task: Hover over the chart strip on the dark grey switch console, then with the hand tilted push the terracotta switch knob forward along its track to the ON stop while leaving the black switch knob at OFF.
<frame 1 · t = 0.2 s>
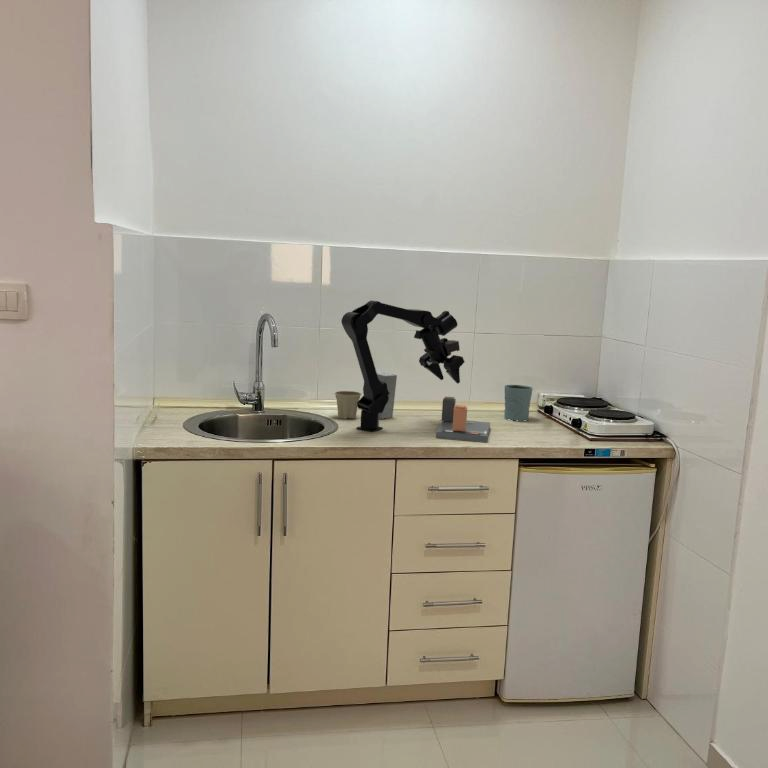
hand: (450, 381, 264), 15 cm above the worktop, tool tilted 30°, fingers open, 9 cm apart
blue-grey tapered cup: (515, 419, 280), on the worktop
switch knob A: (460, 417, 245), point 6 cm above the worktop, slide at 0.0 cm
flower pot: (346, 417, 268), on the worktop
console: (463, 432, 252), on the worktop
switch knob B: (448, 408, 259), point 6 cm above the worktop, slide at 0.0 cm
grey vase: (379, 417, 272), on the worktop
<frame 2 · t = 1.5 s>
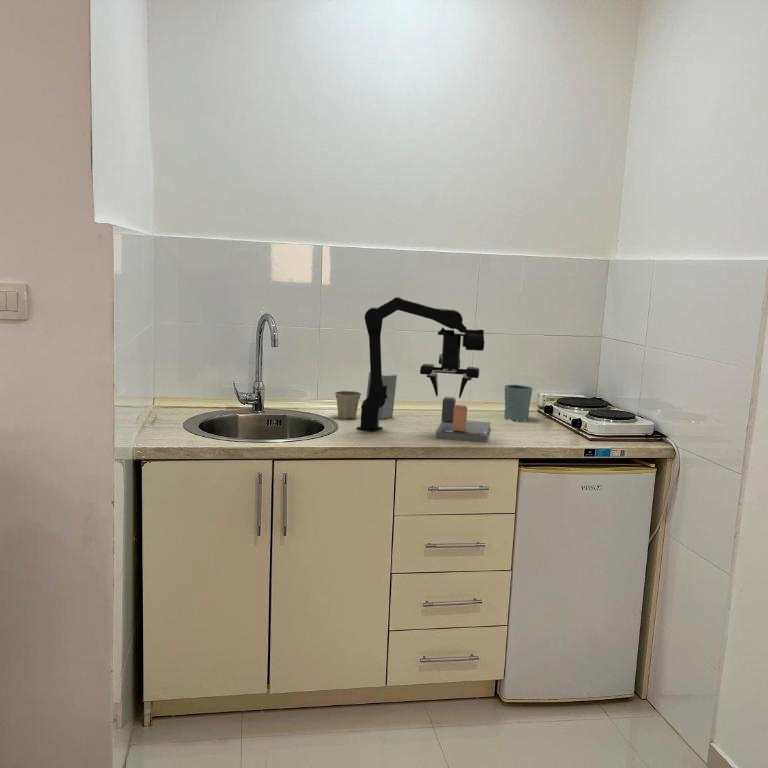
hand: (448, 397, 248), 12 cm above the worktop, tool pointing down, fingers open, 7 cm apart
nothing on the worktop moved.
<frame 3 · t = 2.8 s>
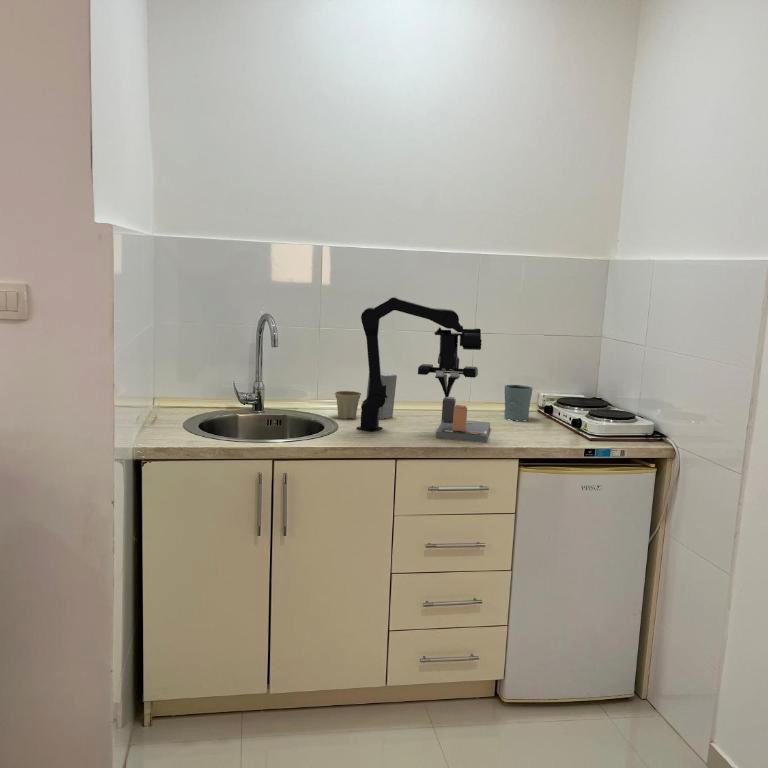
hand: (447, 397, 248), 12 cm above the worktop, tool pointing down, fingers closed
nothing on the worktop moved.
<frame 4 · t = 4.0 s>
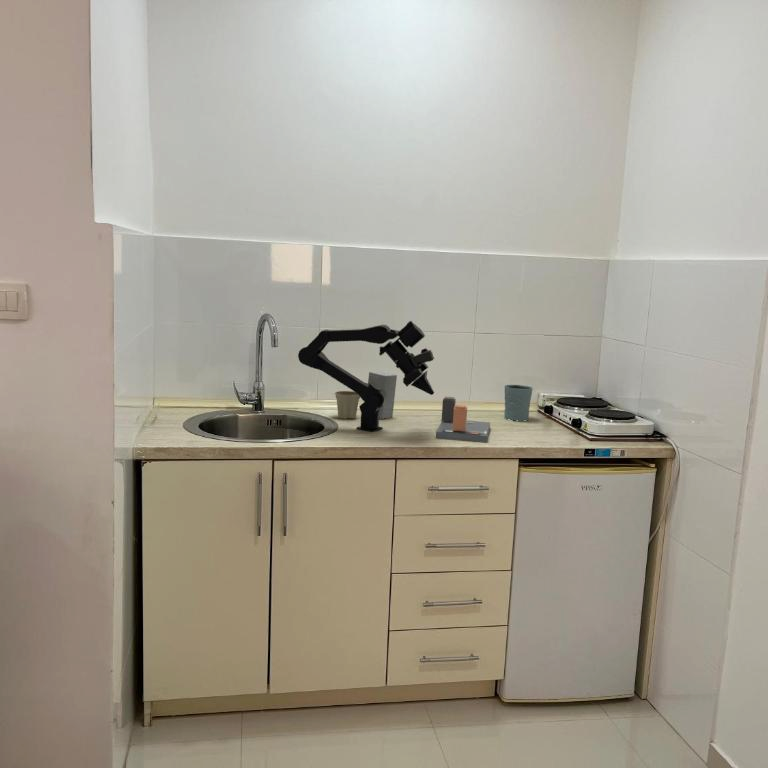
hand: (433, 393, 245), 13 cm above the worktop, tool tilted 45°, fingers closed
nothing on the worktop moved.
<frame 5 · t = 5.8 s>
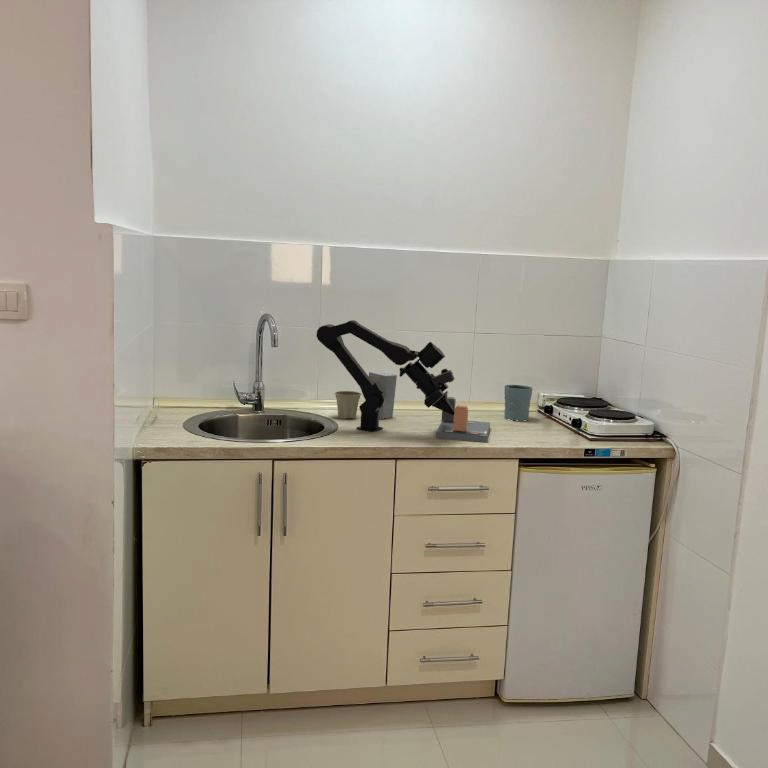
hand: (454, 414, 245), 7 cm above the worktop, tool tilted 45°, fingers closed, pressing on switch knob A
switch knob A: (460, 417, 245), point 6 cm above the worktop, slide at 0.3 cm, touching gripper
everything else where it was.
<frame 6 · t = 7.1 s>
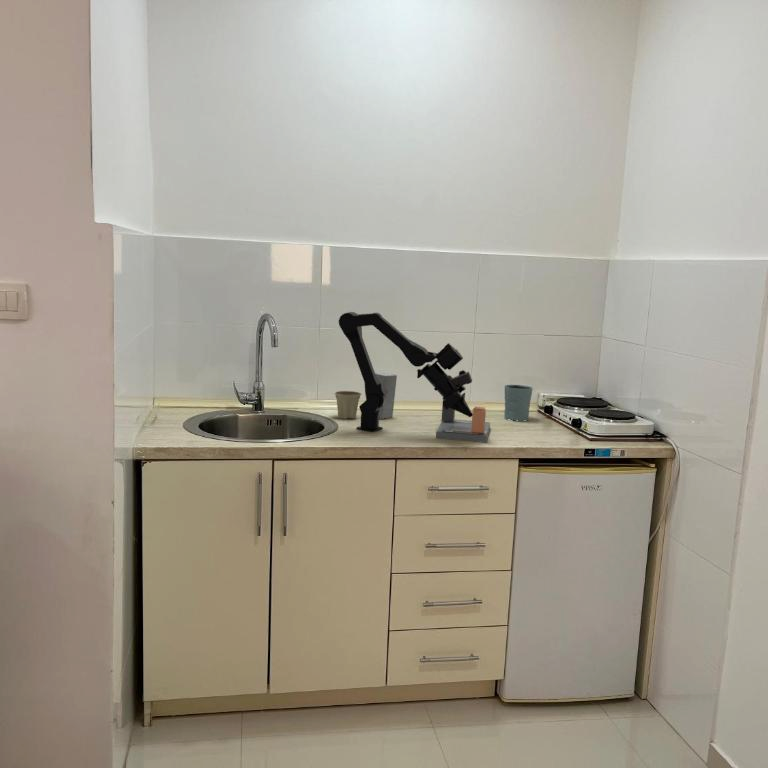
hand: (471, 416, 244), 7 cm above the worktop, tool tilted 45°, fingers closed, pressing on switch knob A
switch knob A: (478, 419, 244), point 6 cm above the worktop, slide at 6.0 cm, touching gripper
everything else where it was.
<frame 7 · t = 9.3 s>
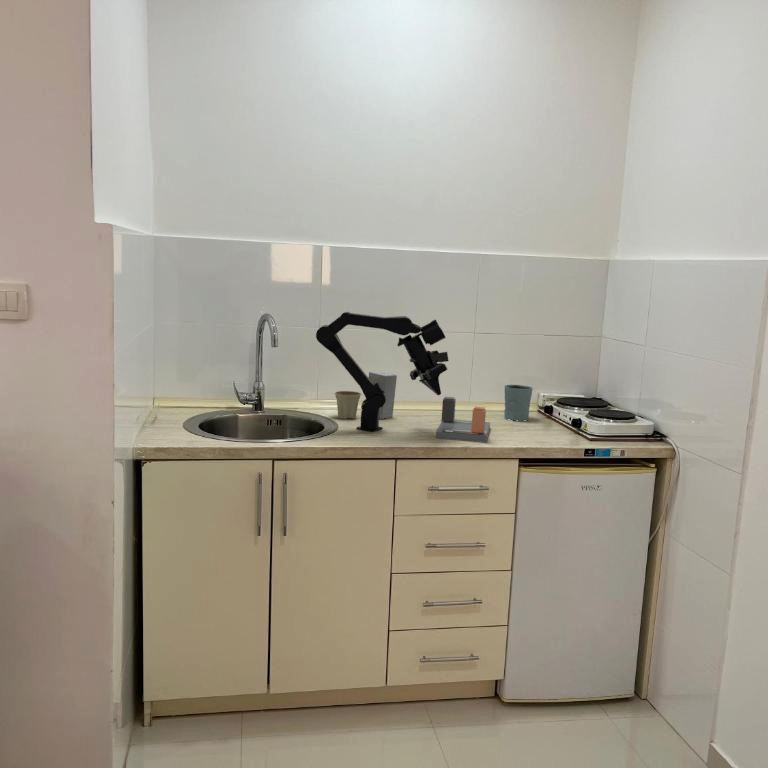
hand: (439, 394, 248), 13 cm above the worktop, tool tilted 30°, fingers closed
switch knob A: (478, 419, 244), point 6 cm above the worktop, slide at 6.0 cm
everything else where it was.
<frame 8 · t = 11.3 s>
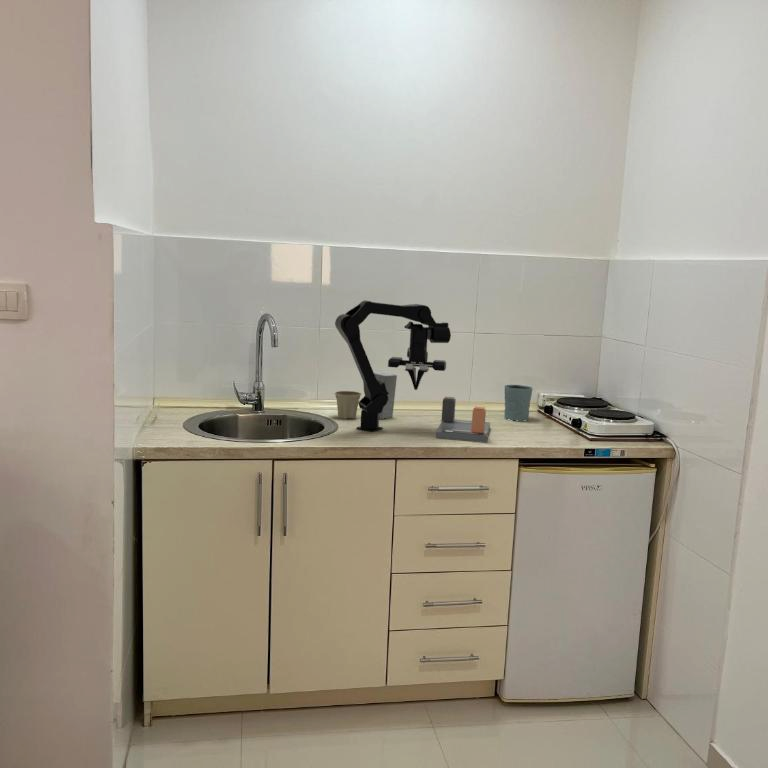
hand: (415, 389, 254), 13 cm above the worktop, tool pointing down, fingers closed
nothing on the worktop moved.
at the end: switch knob A slide at 6.0 cm; switch knob B slide at 0.0 cm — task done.
